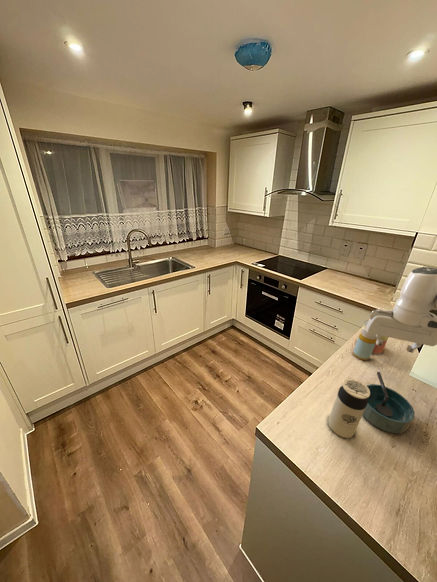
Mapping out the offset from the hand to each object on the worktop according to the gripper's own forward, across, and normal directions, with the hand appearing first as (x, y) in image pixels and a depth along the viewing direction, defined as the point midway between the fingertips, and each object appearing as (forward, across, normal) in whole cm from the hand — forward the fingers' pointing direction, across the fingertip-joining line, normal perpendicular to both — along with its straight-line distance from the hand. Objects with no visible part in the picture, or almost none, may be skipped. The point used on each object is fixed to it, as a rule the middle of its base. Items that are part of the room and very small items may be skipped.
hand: (393, 347), depth 83 cm
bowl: (+21, 0, -11) cm, 24 cm away
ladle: (+21, 0, -5) cm, 21 cm away
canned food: (+21, +3, +31) cm, 38 cm away
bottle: (+21, -2, +21) cm, 30 cm away
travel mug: (+21, -14, -22) cm, 34 cm away
